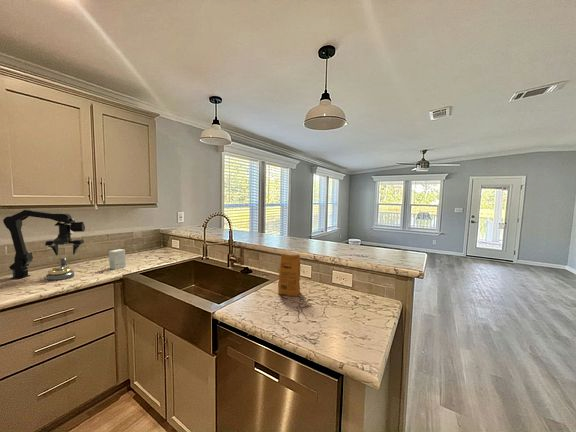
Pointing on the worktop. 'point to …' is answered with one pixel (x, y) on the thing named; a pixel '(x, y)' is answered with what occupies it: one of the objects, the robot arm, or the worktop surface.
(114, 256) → the small box
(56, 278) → the housing
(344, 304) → the worktop surface
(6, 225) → the robot arm
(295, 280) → the coffee package
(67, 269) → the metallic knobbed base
